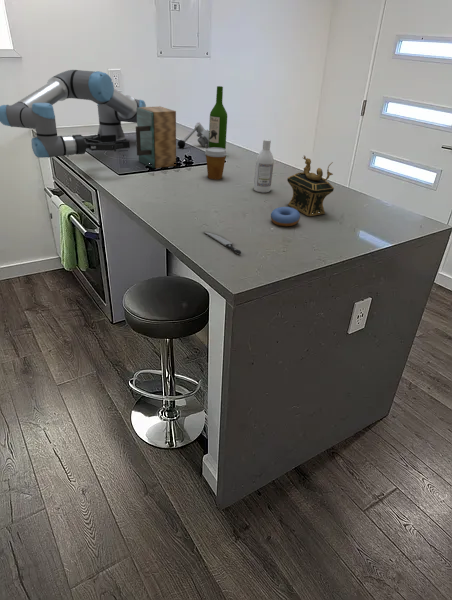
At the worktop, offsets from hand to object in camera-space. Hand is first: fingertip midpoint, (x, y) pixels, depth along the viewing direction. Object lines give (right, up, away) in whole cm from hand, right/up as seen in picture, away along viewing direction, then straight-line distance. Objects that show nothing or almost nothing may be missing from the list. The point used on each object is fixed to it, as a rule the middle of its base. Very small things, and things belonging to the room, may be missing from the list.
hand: (122, 141), depth 185 cm
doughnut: (+65, -42, -37) cm, 85 cm away
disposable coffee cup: (+40, -14, +5) cm, 43 cm away
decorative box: (+75, -35, -25) cm, 87 cm away
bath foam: (+60, -23, -7) cm, 64 cm away
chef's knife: (+44, -51, -54) cm, 87 cm away
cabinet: (+12, -3, +20) cm, 24 cm away
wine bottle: (+40, +8, +41) cm, 58 cm away
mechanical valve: (+28, +17, +54) cm, 63 cm away
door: (+5, -6, +15) cm, 17 cm away
